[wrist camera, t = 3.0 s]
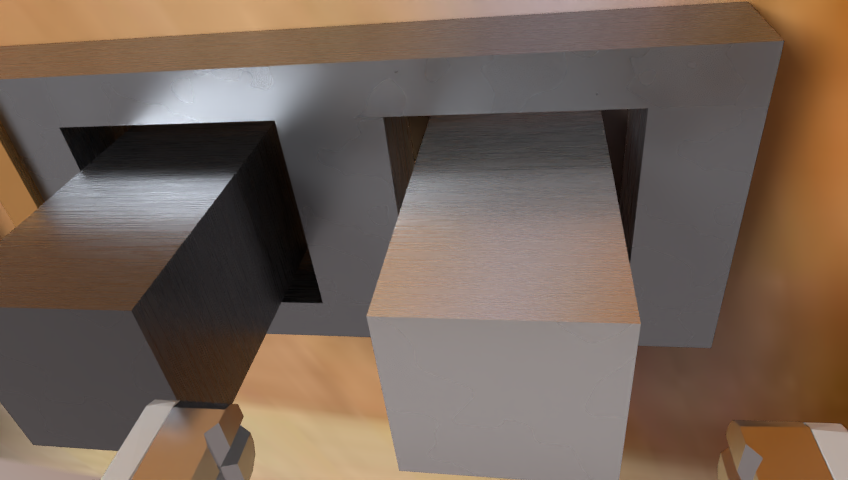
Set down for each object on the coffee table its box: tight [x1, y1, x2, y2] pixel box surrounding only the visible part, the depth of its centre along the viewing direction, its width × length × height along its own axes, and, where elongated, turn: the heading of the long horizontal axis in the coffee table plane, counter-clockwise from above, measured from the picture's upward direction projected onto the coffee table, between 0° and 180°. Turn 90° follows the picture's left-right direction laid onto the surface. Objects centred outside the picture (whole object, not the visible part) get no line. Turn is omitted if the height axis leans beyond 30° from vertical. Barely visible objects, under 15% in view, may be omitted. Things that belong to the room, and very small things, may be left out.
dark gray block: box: [0, 121, 308, 451], centre depth 15 cm, size 4×4×8 cm
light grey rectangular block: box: [366, 110, 641, 480], centre depth 13 cm, size 4×4×8 cm
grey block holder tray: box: [0, 2, 784, 348], centre depth 17 cm, size 26×8×3 cm, turn 96°
